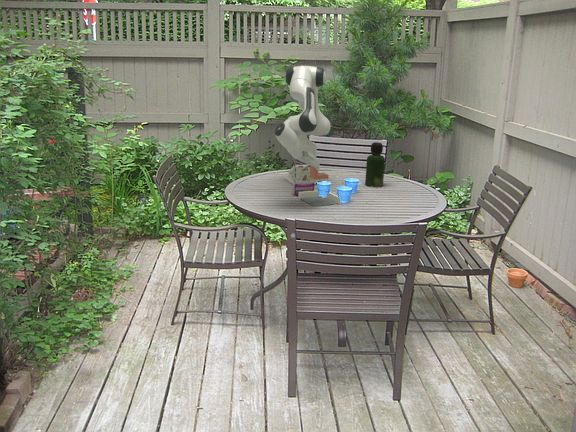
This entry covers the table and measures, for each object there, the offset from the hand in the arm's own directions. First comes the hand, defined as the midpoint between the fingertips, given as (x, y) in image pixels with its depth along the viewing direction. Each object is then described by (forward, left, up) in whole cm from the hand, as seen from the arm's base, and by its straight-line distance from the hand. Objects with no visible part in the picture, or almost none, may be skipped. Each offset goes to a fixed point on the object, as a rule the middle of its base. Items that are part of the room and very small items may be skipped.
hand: (315, 168), depth 323 cm
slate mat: (-2, +4, -18) cm, 19 cm away
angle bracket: (0, +2, -5) cm, 6 cm away
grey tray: (-3, +5, -18) cm, 19 cm away
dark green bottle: (-26, +54, -19) cm, 63 cm away
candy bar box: (-18, +3, -19) cm, 26 cm away
